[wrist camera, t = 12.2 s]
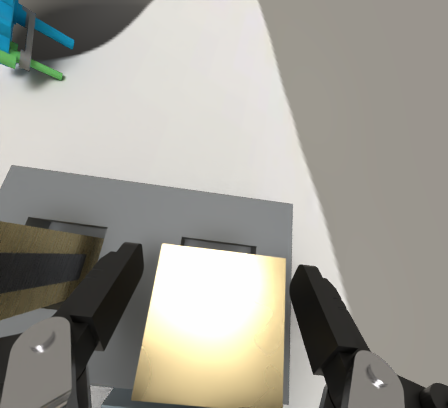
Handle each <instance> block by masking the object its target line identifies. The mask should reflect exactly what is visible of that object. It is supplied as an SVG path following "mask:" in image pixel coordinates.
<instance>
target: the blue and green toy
mask: <svg viewBox="0 0 448 408" xmlns="http://www.w3.org/2000/svg"><path fill="white" fill-rule="evenodd" d="M16 23H18V24H20V25H21V26H23V27H25V28H27V38H26V46H25V50H23V49H21V51H20V52H19V51H17V49H18V44H16V43H14V42H12V30H13V26H14V24H16ZM34 29H36V30H37V31H39V32H41V33H43V34H44V35H47V36H48V37H50V38H52V39H54V40H55V41H57V42H59V43H61V44H62V45H64V46H66V47H68V48H70V49H71V50H72V49H73V46H74V40H73V39H71V38H69V37H68V36H66V35H64V34H63V33H61V32H59V31H58V30H56V29H54V28H53V27H51V26H49V25H48V24H46V23H44V22H42V21H41V20H39V19H37V18H36V14H35V13H34V12H32V11H30V10H29V9H27V8H25V7H24V6H22V5H20V4H19V3H18V0H0V64H3V65H5V66H7V67H11V68H13V69H15V66H16V62H17V63H19V67H20V68H22V69H24V70H27V71H29V69H30V67H31V68H34V69H36V70H38V71H41V72H43V73H45V74H47V75H50V76H52V77H54V78H56V79H59V80H62V73H60V72H58V71H56V70H54V69H52V68H50V67H48V66H45V65H43V64H41V63H39V62H37V61H35V60H33V59H31V54H32V44H33V34H34Z"/></svg>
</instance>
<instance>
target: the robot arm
mask: <svg viewBox="0 0 448 408" xmlns="http://www.w3.org/2000/svg"><path fill="white" fill-rule="evenodd" d="M143 271H144V259H143V249H142V244H139V243H131V242H124V243H123V244H122V245H121V246H120V248H119V249H118V250H117V252H114V251H111V252H109V253H108V254H106V255H105V256H103V257H102V258H100V259H99V260H98V262H97V263H96V264H95V265H94V267H93V268H92V270H90V271H89V273H88V274H87V275H86V277H85V278H84V279H83V280H82V281H81V282H80V284H79V285H78V286H77V287H76V288H75V290H74V291H73V292H72V293H71V294H70V296H69V297H68V298H67V299H66V301H65V302H64V303H63V304H62V305H61V307H60V308H59V309H58V310H57V311H56V313H55V314H54V315H53V316H51V317H50V318H47V319H44V320H42V321H39V322H38V323H36V324H34V325H32V326H31V327H30V328H28V329H27V330H26V331H25V332H23V333H20V334H15V335H10V336H5V337H1V338H0V408H92V405H91V393H90V381H89V369H88V361H89V359H90V357H91V356H92V354H93V352H94V351H103V352H104V351H105V349H106V347H107V345H108V343H109V341H110V339H111V337H112V335H113V333H114V331H115V329H116V327H117V325H118V323H119V321H120V319H121V317H122V315H123V313H124V311H125V309H126V307H127V305H128V303H129V301H130V299H131V297H132V295H133V293H134V291H135V289H136V287H137V285H138V283H139V281H140V279H141V277H142V274H143ZM289 294H290V298H291V301H292V305H293V308H294V312H295V315H296V318H297V322H298V325H299V328H300V332H301V335H302V338H303V342H304V345H305V348H306V352H307V355H308V358H309V362H310V365H311V368H312V372H313V375H322V376H324V378H325V381H326V385H325V386H324V390H323V394H322V398H321V402H320V406H319V408H448V386H446V385H444V384H440V383H435V384H432V385H431V386H429V387H427V388H425V387H422V386H420V385H418V384H416V383H414V382H412V381H409V380H407V379H405V378H403V377H400V376H398V375H397V374H396V373H395V372H394V370H393V369H392V368H391V367H390V366H389V365H388V364H387V363H386V362H385V361H384V360H383V359H382V358H380V357H379V356H378V355H376V354H374V353H372V352H371V351H370V350H369V348H368V346H367V344H366V343H365V341H364V339H363V337H362V335H361V334H360V332H359V330H358V328H357V326H356V324H355V323H354V321H353V319H352V317H351V315H350V314H349V312H348V310H346V306H345V304H344V303H343V301H341V297H340V295H339V294H338V292H337V290H336V288H335V287H334V286H333V285H332V284H331V283H330V282H329V281H328V280H327V279H326V278H323V277H322V275H321V274H320V272H319V270H318V268H317V267H316V266H309V265H299V266H298V268H297V270H296V272H295V274H294V276H293V279H292V281H291V283H290V286H289Z"/></svg>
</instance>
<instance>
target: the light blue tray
mask: <svg viewBox="0 0 448 408" xmlns="http://www.w3.org/2000/svg"><path fill="white" fill-rule="evenodd" d="M132 392H133V389H123V388H114V389H113V390H112V391H111V393H110V394H109V395H108V397H107V398H106V399H105V401H104V402H103V404H102V405H101V408H211V407H200V406H188V405H177V404H165V403H154V402H142V401H131V397H132Z"/></svg>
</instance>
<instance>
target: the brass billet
mask: <svg viewBox="0 0 448 408" xmlns="http://www.w3.org/2000/svg"><path fill="white" fill-rule="evenodd" d="M285 278H286V258H279V257H270V256H262V255H254V254H245V253H237V252H229V251H220V250H212V249H204V248H195V247H187V246H179V245H170V244H162V247H161V252H160V257H159V262H158V267H157V272H156V277H155V282H154V287H153V292H152V297H151V302H150V307H149V312H148V317H147V322H146V327H145V332H144V337H143V342H142V347H141V352H140V357H139V362H138V367H137V372H136V377H135V382H134V387H133V392H132V397H131V401H142V402H154V403H165V404H177V405H188V406H200V407H211V408H283V368H284V323H285Z"/></svg>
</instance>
